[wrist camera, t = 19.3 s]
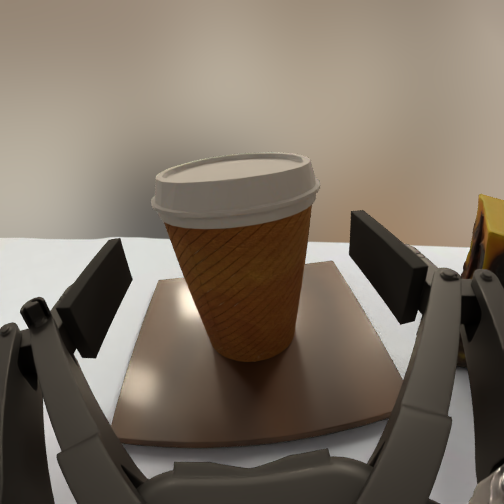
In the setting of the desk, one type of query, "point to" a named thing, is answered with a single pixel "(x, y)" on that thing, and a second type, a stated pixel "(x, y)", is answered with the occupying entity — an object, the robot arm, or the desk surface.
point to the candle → (485, 248)
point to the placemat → (255, 374)
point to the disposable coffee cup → (241, 244)
